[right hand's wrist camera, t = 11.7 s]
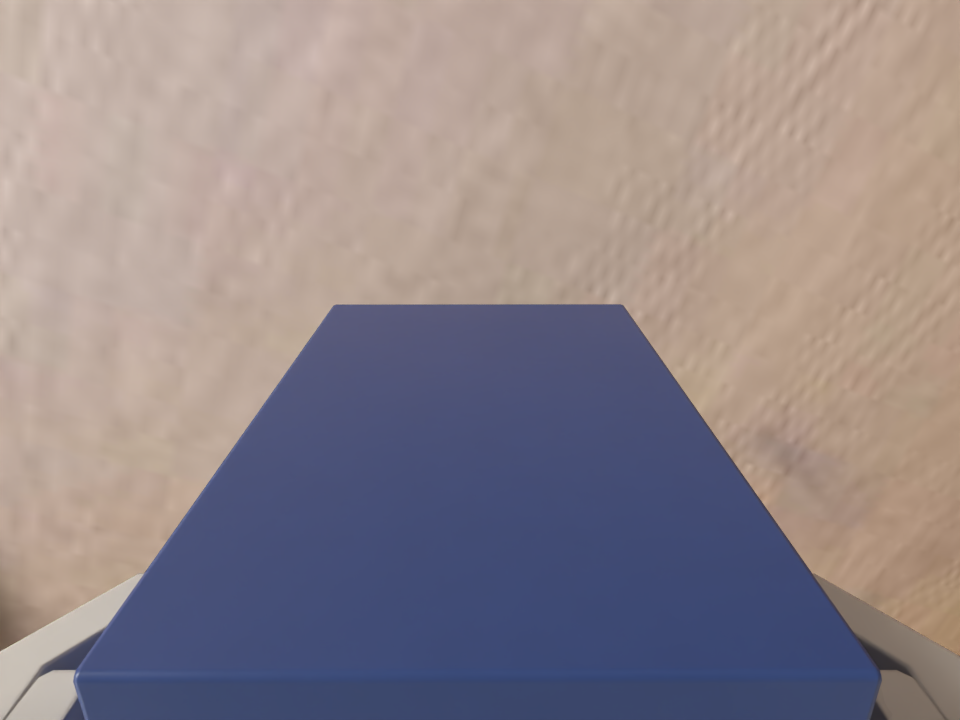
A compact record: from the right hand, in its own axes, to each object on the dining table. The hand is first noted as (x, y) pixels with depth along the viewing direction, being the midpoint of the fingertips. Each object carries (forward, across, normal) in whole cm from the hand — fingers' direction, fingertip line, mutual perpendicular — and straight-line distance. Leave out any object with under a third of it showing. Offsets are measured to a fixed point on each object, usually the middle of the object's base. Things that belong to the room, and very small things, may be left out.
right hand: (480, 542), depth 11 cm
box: (+4, 0, -8) cm, 8 cm away
